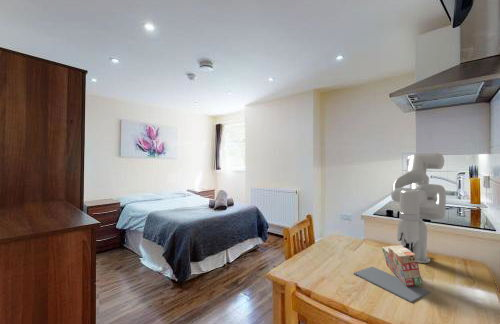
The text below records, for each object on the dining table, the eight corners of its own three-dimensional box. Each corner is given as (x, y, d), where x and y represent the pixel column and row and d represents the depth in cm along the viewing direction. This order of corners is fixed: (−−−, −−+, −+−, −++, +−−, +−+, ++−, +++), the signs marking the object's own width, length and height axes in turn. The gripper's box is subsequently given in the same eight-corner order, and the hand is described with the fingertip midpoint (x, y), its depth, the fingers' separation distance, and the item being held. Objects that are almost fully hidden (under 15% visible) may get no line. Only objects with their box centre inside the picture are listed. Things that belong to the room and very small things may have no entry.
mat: (372, 267, 111) (372, 266, 111) (430, 292, 91) (430, 291, 91) (353, 274, 105) (353, 272, 105) (411, 302, 84) (411, 301, 84)
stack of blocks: (386, 265, 114) (380, 240, 115) (400, 264, 113) (393, 239, 114) (406, 286, 93) (399, 255, 94) (423, 284, 92) (415, 253, 93)
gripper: (408, 214, 112) (407, 251, 112) (391, 216, 104) (390, 256, 104) (426, 217, 105) (425, 257, 105) (409, 220, 98) (408, 263, 98)
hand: (408, 256), depth 105 cm, fingers closed
